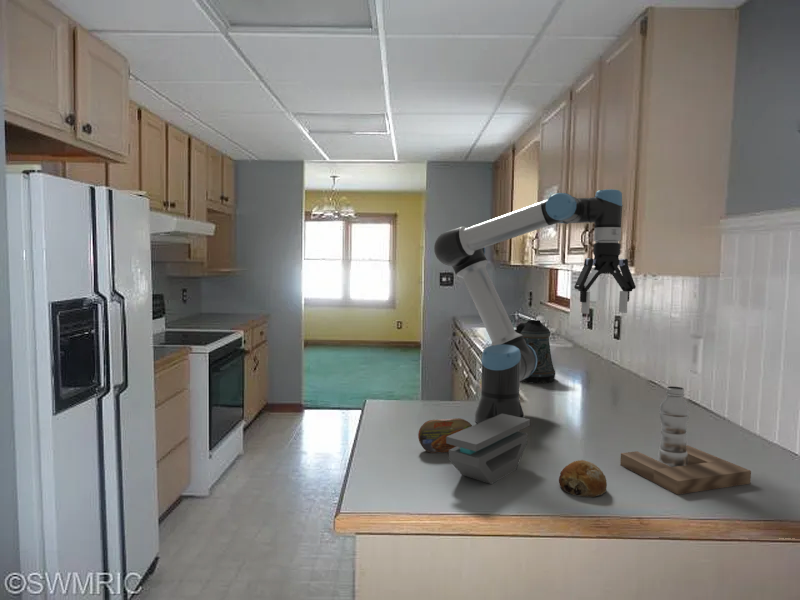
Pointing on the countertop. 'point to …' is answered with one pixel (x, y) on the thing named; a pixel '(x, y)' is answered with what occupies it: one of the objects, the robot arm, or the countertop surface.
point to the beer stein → (538, 350)
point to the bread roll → (583, 479)
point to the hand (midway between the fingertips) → (604, 313)
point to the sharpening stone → (489, 447)
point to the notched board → (688, 472)
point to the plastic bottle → (673, 428)
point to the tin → (440, 433)
